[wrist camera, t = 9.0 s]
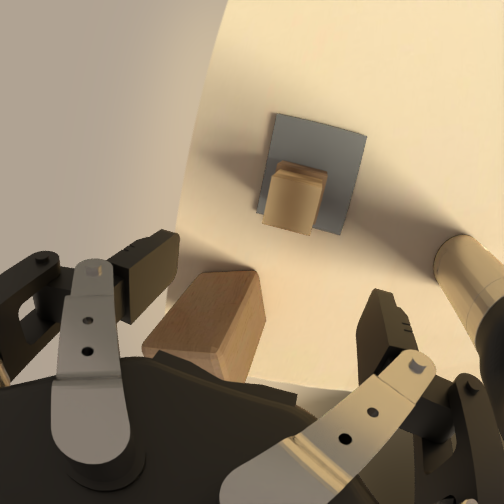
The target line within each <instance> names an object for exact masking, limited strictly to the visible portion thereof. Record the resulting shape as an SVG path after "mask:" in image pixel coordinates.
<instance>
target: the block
mask: <svg viewBox="0 0 504 504" xmlns="http://www.w3.org/2000/svg"><path fill="white" fill-rule="evenodd" d="M265 322H266V317H265V311H264V305H263V299H262V292H261V286H260V280H259V276H258V274H257V272H256V271H232V272H210V273H202V274H200V275H198V277H197V278H196V279H195V280H194V281H193V283H192V284H191V285H190V286H189V287H188V289H187V290H186V291H185V292H184V293H183V295H182V296H181V297H180V298H179V299H178V301H177V302H176V303H175V304H174V305H173V307H172V308H171V309H170V310H169V311H168V313H167V314H166V315H165V316H164V317H163V319H162V320H161V321H160V322H159V324H158V325H157V326H156V327H155V329H154V330H153V331H152V332H151V333H150V335H149V336H148V337H147V338H146V339H145V341H144V342H143V344H142V352H143V355H144V357H149V358H153V357H154V356H155V354H156V353H157V352H158V350H162V351H164V352H167V353H169V354H172V355H174V356H177V357H180V358H182V359H185V360H188V361H190V362H192V363H194V364H196V365H197V366H199V367H201V368H202V369H204V370H206V371H207V372H209V373H211V374H212V375H214V376H216V377H218V378H219V379H221V380H224V381H231V382H239V383H245V381H246V378H247V375H248V372H249V370H250V367H251V364H252V361H253V358H254V355H255V352H256V349H257V346H258V343H259V340H260V337H261V334H262V331H263V328H264V325H265Z"/></svg>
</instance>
